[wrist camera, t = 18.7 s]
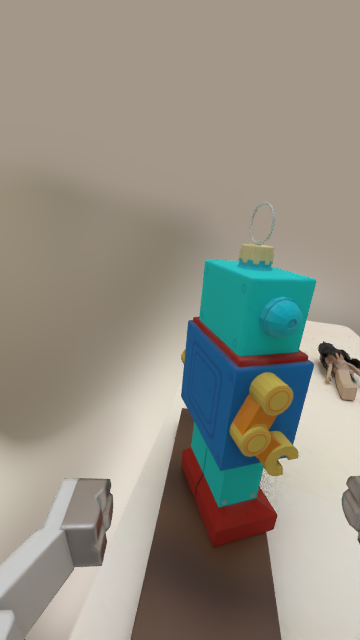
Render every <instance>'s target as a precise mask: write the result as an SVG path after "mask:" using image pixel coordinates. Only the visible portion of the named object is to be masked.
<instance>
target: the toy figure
mask: <svg viewBox="0 0 360 640" xmlns="http://www.w3.org/2000/svg"><path fill="white" fill-rule="evenodd" d="M318 351H319V353H320V361H321V362H322V364H323V366H324V367H325V368H326V367H328V369H327V368H326V369H327V376H326V381H327V382H329V380H330V381H331V382H332V376H331V372H332V371H333V372H334V373H335V374H336V376H335V380H336V385H337V389H338V391H339V394H340V396H341V397H342V399H343V400H355V397H356V392H357V388H356V387H355V385H354V383H353V382H352V380H353V381H354V382H355V383H356V381H355V380H354V378H353V374H354V373H356V374H357V375H359V376H360V371H359V370H360V361H359V360H358V359H356V358H355V359H352V358H351V360H350V357H349V355H348V354H347V353H346V352H345V351H344V350H338V349H336V348H335V347H334V346H332V344H330V343H325V342H324V341H323V343H321V344H320V345H319V350H318ZM358 369H359V370H358ZM356 384H357V383H356Z"/></svg>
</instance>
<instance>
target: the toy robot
mask: <svg viewBox="0 0 360 640" xmlns="http://www.w3.org/2000/svg"><path fill="white" fill-rule="evenodd" d="M262 204H268V205H269V206H270V208H271V210H272V215H273V221H272V227H271V230H270V233H269V235H268V237H267V238H266V240H264V241H263V242H261V241H260V240H258V241H257V242H256V241H255V240H254V238H253V235H252V222H253V218H254V215H255V213H256V211H257V209H258V208H259V207H260V206H261V205H262ZM274 221H275V216H274V210H273V207H272V205H271V204H270V203H268V202H263V203H261V204H260V205H259V206H258V207H257V208H256V209H255V211H254V213H253V216H252V219H251V224H250V234H251V238H252V240H253V241H254V243H255V244H242V246H241V250H240V255H239V261H225V260H206V261H205V269H204V279H203V289H202V298H201V308H200V316H199V317H194V318H193V320H189V322H188V330H187V341H186V349H185V350H184V352H183V353H182V356H181V359H182V362H183V363H184V372H183V383H182V393H181V397H182V399H183V401H184V403H185V404H186V406H187V408H188V410H189V412H190V414H191V416H192V418H193V420H194V427H193V436H192V444H191V448H188V449H186V450H184V451H182V461H181V464H182V467H183V470H184V472H185V475H186V477H187V480H188V483H189V485H190V488H191V491H192V493H193V496H194V498H195V501H196V504H197V506H198V509H199V511H200V514H201V517H202V519H203V522H204V525H205V527H206V530H207V532H208V535H209V538H210V540H211V543H212V546H213V547H217V546H220V545H223V544H227V543H230V542H234V541H237V540H240V539H244V538H247V537H250V536H254V535H257V534H260V533H264V532H267V531H270V530H273V529H274V526H275V522H276V519H277V514H276V512H275V510H274V509H273V507H272V506H271V504H270V503H269V501H268V499H267V498H266V496H265V495H264V493H263V492H262V490H261V488H260V487H259V484H260V480H261V476H262V471H263V467H264V468H265V470H266V471H267V473H268V474H270V475H272V476H279V475H282V474H283V467H282V465H281V464H280V463H279V461H278V459H280V458H285V457H287V459H288V460H291V459H296V458H298V451H297V449H296V448H295V447H294V446H293V443H294V439H295V435H296V431H297V428H298V424H299V420H300V416H301V412H302V409H303V405H304V401H305V397H306V394H307V390H308V386H309V382H310V378H311V375H312V371H313V367H314V364H313V363H312V362H311V361H309V360H308V356H307V355H306V354H305V353H303V352H301V351H300V350H299V347H300V343H301V339H302V335H303V331H304V327H305V323H306V319H307V316H308V312H309V308H310V304H311V300H312V296H313V292H314V288H315V284H316V280H315V279H313V278H310V277H306V276H303V275H299V274H295V273H292V272H288V271H285V270H282V269H278V268H275V267H271V264H272V263H273V257H274V247H272V246H266V245H261V244H263V243H265V242H266V241H267V240H268V239H269V237H270V235H271V233H272V231H273V227H274Z"/></svg>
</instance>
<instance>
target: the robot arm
mask: <svg viewBox="0 0 360 640" xmlns="http://www.w3.org/2000/svg"><path fill="white" fill-rule="evenodd" d="M346 484H347V486H348V488H349V489H348V490H347V491H345V492H344V493H343V497H342V507H343V511H344V514H345V517H346V519H347V521H348V523H349V525H350V526H352V527H353V528H354V529H355V530H356V531H358V541H359V543H360V476H351V477H349V478H348V480H347V483H346ZM110 488H111V482H110V479H85V478H84V479H82V478H65V479H64V480H63V482H62V483H61V485H60V487H59V490H58V492H57V494H56V497H55V499H54V501H53V504H52V506H51V508H50V511H49V513H48V516H47V518H46V520H45V523H44V525H43V527H42V530H36V531H35V532H34V533H33V534H32V535H31V536H30V537H29V538H28V539H27V540H26V541H25V542H24V543H23V544H22V545H21V546H20V547H18V548H17V549H16V550H15V551H14V552H13V553H12V554H11V555H10V556H9V557H8V558H7V559H6V560H5V561H4V562H3V563H2V564H1V565H0V640H25V636H26V635H27V634H28V632H29V631H30V629H31V628H32V627H33V625H34V624H35V623H36V621H37V620H38V618H39V617H40V616H41V614H42V613H43V612H44V610H45V609H46V607H47V606H48V604H49V603H50V602H51V600H52V599H53V598H54V596H55V595H56V594H57V592H58V591H59V589H60V588H61V587H62V585H63V584H64V583H65V581H66V580H67V578H68V577H69V576H70V574H71V573H72V572H73V570H74V567H89V566H102V562H103V558H104V553H105V549H106V544H107V539H106V533H105V532H106V531H107V530H108V529H109V528H110V525H111V520H112V513H113V495H112V494H111V493H110Z"/></svg>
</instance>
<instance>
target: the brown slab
mask: <svg viewBox="0 0 360 640" xmlns="http://www.w3.org/2000/svg"><path fill="white" fill-rule="evenodd" d="M193 427H194V420H193V418H192V416H191V414H190V412H189V410H188V409H185V408H182V411H181V416H180V420H179V425H178V429H177V434H176V438H175V442H174V447H173V451H172V456H171V460H170V465H169V469H168V474H167V478H166V483H165V487H164V492H163V496H162V501H161V505H160V510H159V514H158V519H157V523H156V528H155V532H154V537H153V541H152V546H151V550H150V555H149V559H148V564H147V568H146V572H145V577H144V581H143V586H142V590H141V595H140V599H139V604H138V608H137V613H136V617H135V622H134V626H133V631H132V635H131V640H281V634H280V627H279V620H278V613H277V606H276V599H275V592H274V584H273V577H272V570H271V563H270V556H269V549H268V542H267V535H266V532H264V533H260V534H257V535H254V536H250V537H247V538H244V539H240V540H237V541H234V542H230V543H227V544H223V545H220V546H217V547H213V546H212V543H211V540H210V538H209V535H208V532H207V530H206V527H205V525H204V522H203V519H202V517H201V514H200V511H199V509H198V506H197V504H196V501H195V498H194V496H193V493H192V491H191V488H190V485H189V483H188V480H187V477H186V475H185V472H184V470H183V467H182V464H181V461H182V451H184V450H186V449H188V448H191V444H192V436H193ZM259 487H260V485H259Z"/></svg>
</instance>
